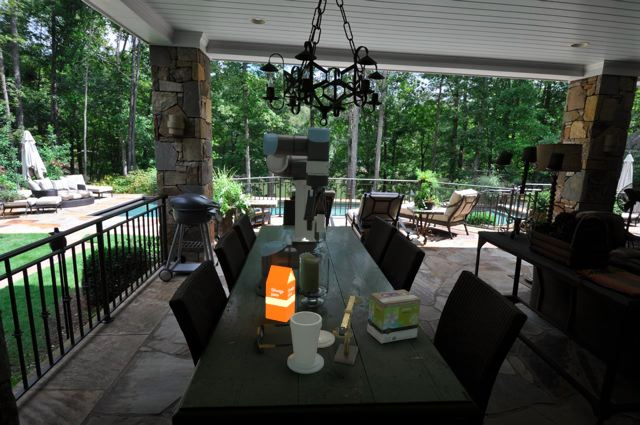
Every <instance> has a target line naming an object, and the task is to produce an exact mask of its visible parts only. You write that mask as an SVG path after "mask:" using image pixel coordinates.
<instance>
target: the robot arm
mask: <svg viewBox="0 0 640 425" xmlns="http://www.w3.org/2000/svg"><path fill="white" fill-rule="evenodd" d="M262 140H263V143H262V144H263V145H262V146H263V147H262V148H263V149H262V150H263V154H264V155H266V160H265V164H266V168H267V169H268V170H269V171H270V173H272V174H274V175H275V176H277V177H280V178H285V179H292V180H291V181H292V184H294V186H295V192H294V194H295V195H294V196H295V198H294V199H295V200H294V201H295V202H294V209H295V210H294V211H295V212H294V214H295V215H294V216H295V218H294V237H293V238H292V240H291V243H290V244H288V242H287V241H286V240H273V241H268V242H265V243H264V244H263V245H261V252H260V258H261V260H260V261H261V263H260V264H261V265H260V278H259V280H258V284H257V287H256V292H257V295H260V296H263V297H265V298H266V282H267V278H268V275H269V272H270V268H271V265H273V266H280V267H287V268H292V271H299V255H300V254H302V253H305V252H310V253H318V254H321V246H320V244H319V243H317V239H315V228H316V233H325V224H326V223H325V222H326V220H325V219H326V215H328V209H327V201H326V187H328V186H329V175H327V174H329V169H330V168H331V164H330V162H329V161H330V146H331V145H330V142H331V130H330V129H329V128H327V127H318V126H317V127H315V126H313V127H308V129H307V134H292V133H291V134H290V133H275V132H272V133H265V134H264V135H263V139H262ZM316 211H317V215H316ZM315 216H316V220H315ZM315 221H316V227H315Z"/></svg>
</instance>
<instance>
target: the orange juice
mask: <svg viewBox="0 0 640 425" xmlns="http://www.w3.org/2000/svg"><path fill="white" fill-rule="evenodd" d="M295 302H296V277H295V274H294V270H292V268H287V267H280V266H273V265H271V268H270V272H269V275H268V278H267V282H266V297H265V318H266V319H267V320H268V319H269V320H274V321H279V322H284V323H287V322H288V321H290V317H291V316H292V315H293V314H295V307H296V306H295V304H296V303H295Z"/></svg>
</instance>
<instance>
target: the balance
mask: <svg viewBox="0 0 640 425" xmlns="http://www.w3.org/2000/svg"><path fill="white" fill-rule="evenodd" d="M343 302H344V303H345V304H347V306H346V308H344V311H343V319H342V322H341V325H340V326H338V327H335V328H333V330H332V334H333V335H334V337H335V338H338V339H340V340H341V339H343V340H344V343H339V345H338V348H337V350H336V353H335V355H334V358H333V362H334V363H341V364H344V365H345V364H346V365H354V364H355V360H356V358H357V355H358V351H359V346H356V345H350V343H351V339H350V338H352V337H353V336H354V334H355V333H354V330H353V329H351V320H352V317H353V314H354V305H361V304H362V303H363V298H361V297H359V296H355V295H348V296H345V297H344V298H343Z"/></svg>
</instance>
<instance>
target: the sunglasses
mask: <svg viewBox="0 0 640 425" xmlns="http://www.w3.org/2000/svg"><path fill="white" fill-rule="evenodd" d="M280 327H284V328H285V327H290V323H274V324H273V323H272V324H264V323H263V322H262V323H259V325H258V326H257V329H256V331H257V332H256V337H257V344H258V347H259V350H260V353H264V349H265V348H280V347H284V348H285V347H290V346H292V347H293V343H270V344H264V343H263V340H264V338H265V334H266V333H265V328H280Z"/></svg>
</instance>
